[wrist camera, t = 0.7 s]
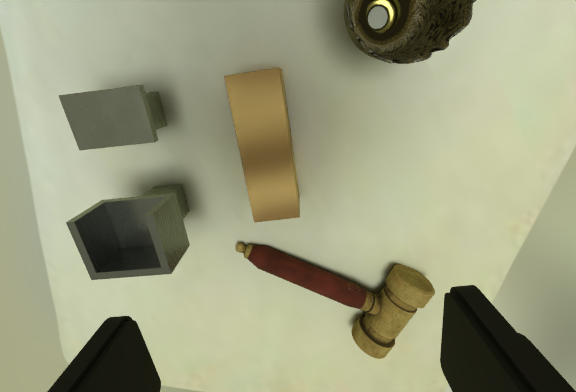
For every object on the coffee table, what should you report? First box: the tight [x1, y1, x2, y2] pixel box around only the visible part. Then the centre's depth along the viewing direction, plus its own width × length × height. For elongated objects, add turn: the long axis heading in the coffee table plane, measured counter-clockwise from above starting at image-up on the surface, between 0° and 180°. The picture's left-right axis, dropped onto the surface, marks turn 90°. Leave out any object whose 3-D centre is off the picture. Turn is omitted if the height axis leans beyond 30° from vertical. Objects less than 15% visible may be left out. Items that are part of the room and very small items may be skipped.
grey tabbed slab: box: [59, 85, 167, 150], centre depth 24 cm, size 4×6×6 cm, turn 96°
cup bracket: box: [66, 184, 190, 280], centre depth 26 cm, size 5×6×10 cm
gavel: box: [236, 243, 435, 359], centre depth 32 cm, size 21×5×10 cm
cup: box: [344, 0, 476, 64], centre depth 20 cm, size 8×7×8 cm
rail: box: [224, 68, 300, 222], centre depth 26 cm, size 12×4×5 cm, turn 8°
